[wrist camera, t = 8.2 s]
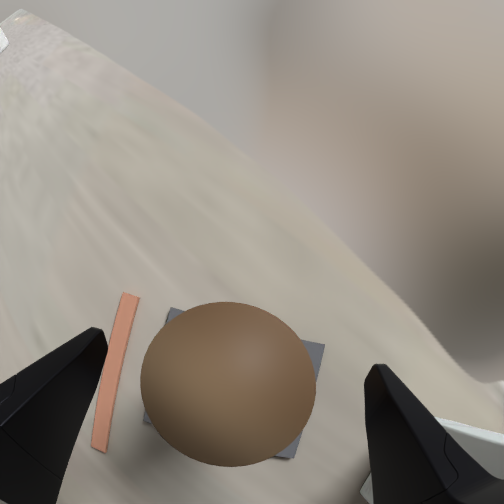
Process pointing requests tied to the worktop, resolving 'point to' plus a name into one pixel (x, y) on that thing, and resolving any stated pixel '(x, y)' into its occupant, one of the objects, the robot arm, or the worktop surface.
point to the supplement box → (467, 450)
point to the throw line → (113, 370)
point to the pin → (228, 384)
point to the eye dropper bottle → (3, 41)
